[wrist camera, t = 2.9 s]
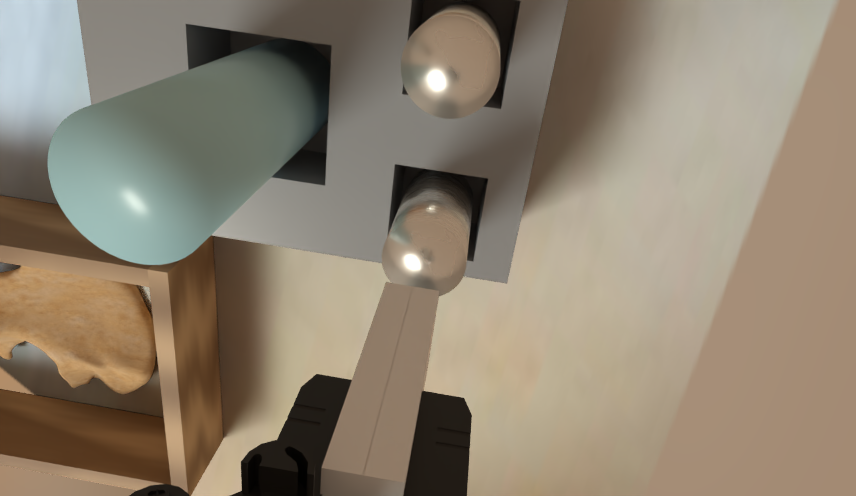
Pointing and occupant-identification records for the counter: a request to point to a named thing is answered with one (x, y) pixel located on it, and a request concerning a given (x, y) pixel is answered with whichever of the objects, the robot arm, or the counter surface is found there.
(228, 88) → the cartridge
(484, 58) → the plunger
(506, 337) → the counter surface
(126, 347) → the bone
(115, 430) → the wooden tray
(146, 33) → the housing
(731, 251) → the counter surface
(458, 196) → the plunger
